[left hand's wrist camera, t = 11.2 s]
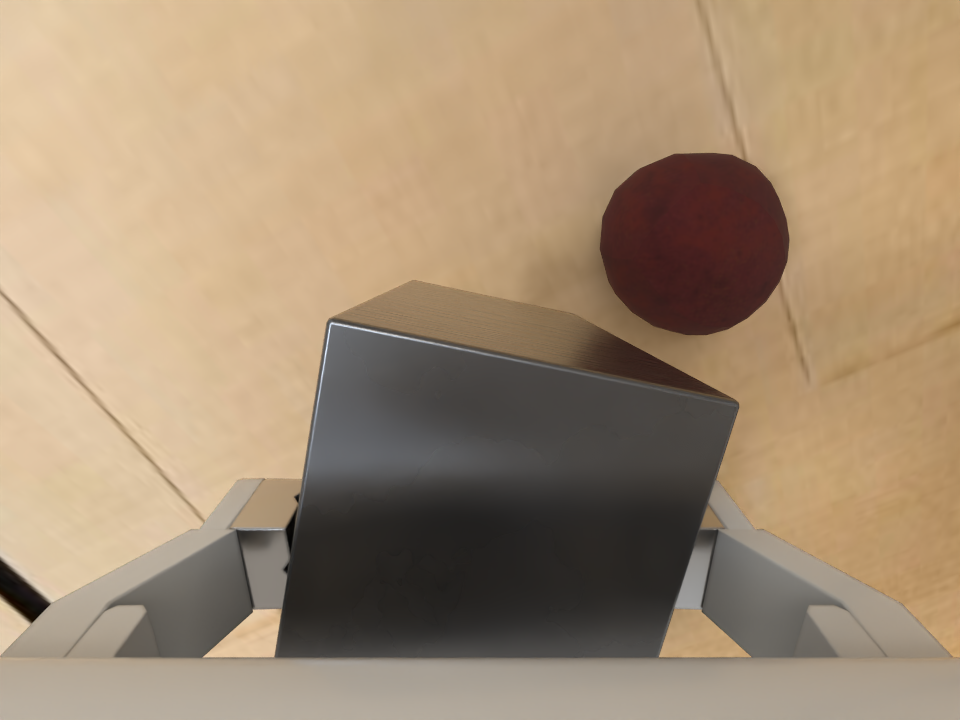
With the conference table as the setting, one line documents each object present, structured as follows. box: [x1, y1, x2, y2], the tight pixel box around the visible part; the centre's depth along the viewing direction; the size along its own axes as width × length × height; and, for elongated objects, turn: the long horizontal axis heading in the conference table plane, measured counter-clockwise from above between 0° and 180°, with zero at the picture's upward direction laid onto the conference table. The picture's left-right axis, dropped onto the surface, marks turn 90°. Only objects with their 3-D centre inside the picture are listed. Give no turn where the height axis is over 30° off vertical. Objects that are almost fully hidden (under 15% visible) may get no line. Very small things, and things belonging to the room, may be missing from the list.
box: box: [275, 280, 739, 658], centre depth 15 cm, size 23×6×12 cm, turn 168°
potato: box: [600, 153, 789, 335], centre depth 22 cm, size 7×8×7 cm
